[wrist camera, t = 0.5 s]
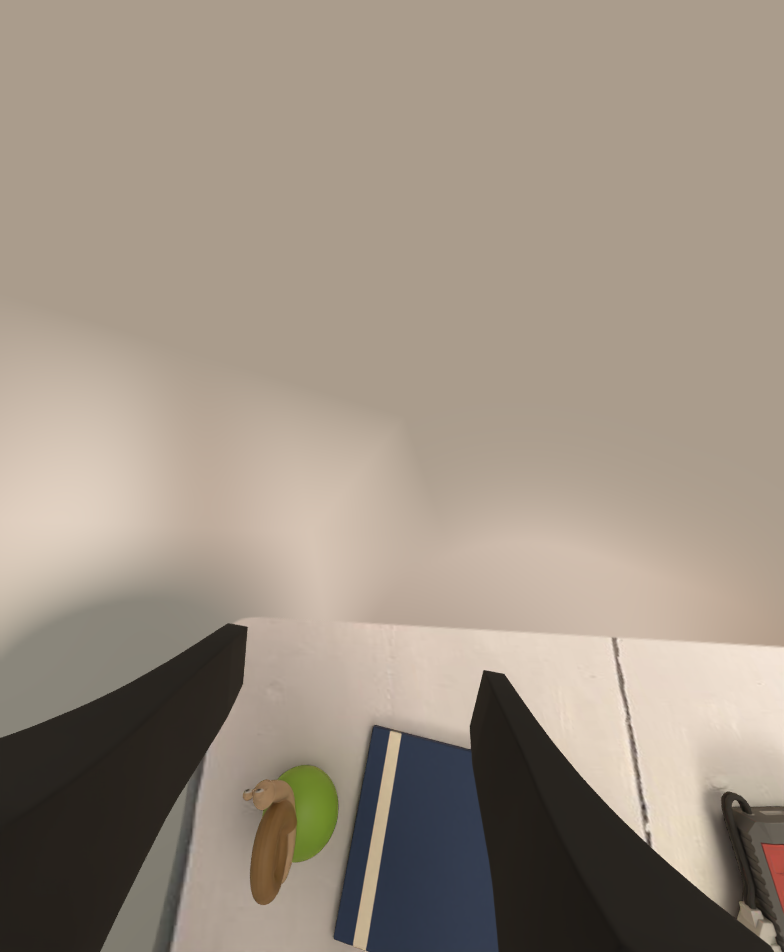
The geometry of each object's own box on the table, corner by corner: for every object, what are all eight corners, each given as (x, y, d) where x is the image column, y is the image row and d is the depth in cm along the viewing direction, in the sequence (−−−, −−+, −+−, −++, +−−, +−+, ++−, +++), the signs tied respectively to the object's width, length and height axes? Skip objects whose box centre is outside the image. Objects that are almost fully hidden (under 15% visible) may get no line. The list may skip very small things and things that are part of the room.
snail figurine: (344, 741, 33) (299, 787, 22) (345, 840, 30) (295, 948, 19) (280, 744, 33) (205, 791, 22) (276, 843, 31) (189, 951, 20)
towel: (554, 1009, 26) (558, 1020, 25) (335, 932, 28) (332, 939, 28) (561, 772, 31) (565, 775, 30) (374, 724, 33) (373, 726, 32)
